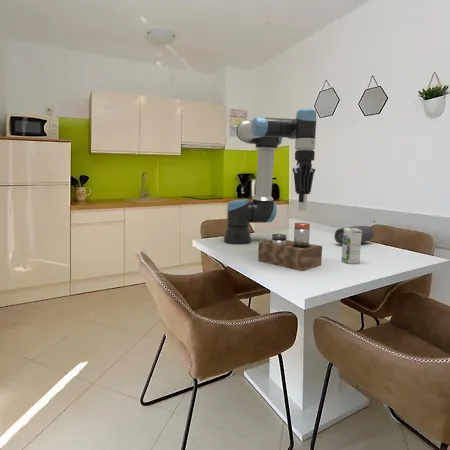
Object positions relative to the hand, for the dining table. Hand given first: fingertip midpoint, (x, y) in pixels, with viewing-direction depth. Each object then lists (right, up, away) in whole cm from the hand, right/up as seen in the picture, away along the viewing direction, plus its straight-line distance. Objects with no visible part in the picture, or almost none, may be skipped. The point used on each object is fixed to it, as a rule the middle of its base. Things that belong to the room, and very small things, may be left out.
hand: (302, 210), depth 138 cm
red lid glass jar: (0, -15, +2) cm, 15 cm away
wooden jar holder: (-4, -22, +7) cm, 23 cm away
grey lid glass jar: (-8, -20, +11) cm, 24 cm away
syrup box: (+23, -22, +10) cm, 33 cm away
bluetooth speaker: (+39, -17, +51) cm, 67 cm away
